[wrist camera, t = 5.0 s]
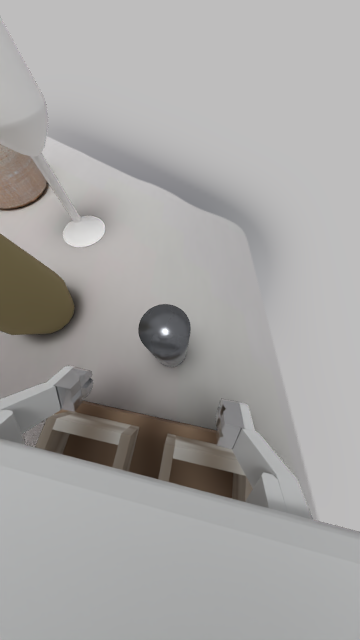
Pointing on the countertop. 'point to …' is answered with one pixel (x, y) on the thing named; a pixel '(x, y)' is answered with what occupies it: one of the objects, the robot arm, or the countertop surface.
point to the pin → (165, 333)
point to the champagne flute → (35, 133)
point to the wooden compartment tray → (146, 448)
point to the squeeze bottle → (30, 294)
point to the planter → (19, 179)
